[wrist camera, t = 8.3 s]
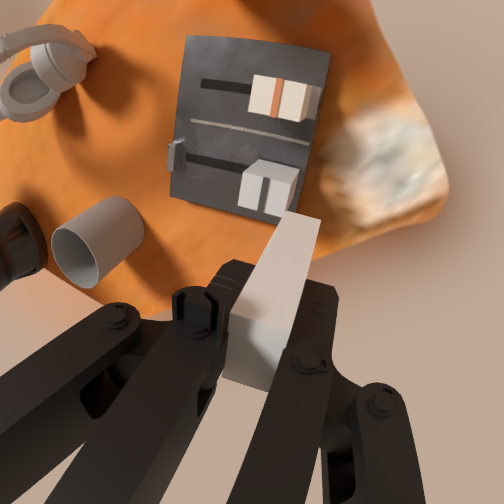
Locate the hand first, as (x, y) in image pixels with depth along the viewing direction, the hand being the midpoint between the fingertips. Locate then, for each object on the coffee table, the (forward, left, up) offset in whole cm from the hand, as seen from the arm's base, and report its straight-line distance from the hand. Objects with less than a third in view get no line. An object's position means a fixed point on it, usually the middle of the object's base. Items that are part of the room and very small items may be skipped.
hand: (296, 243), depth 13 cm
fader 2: (-4, -3, -17) cm, 17 cm away
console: (-8, +1, -19) cm, 21 cm away
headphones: (-34, +6, -19) cm, 40 cm away
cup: (-24, -15, -20) cm, 35 cm away
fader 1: (-4, +5, -17) cm, 18 cm away
